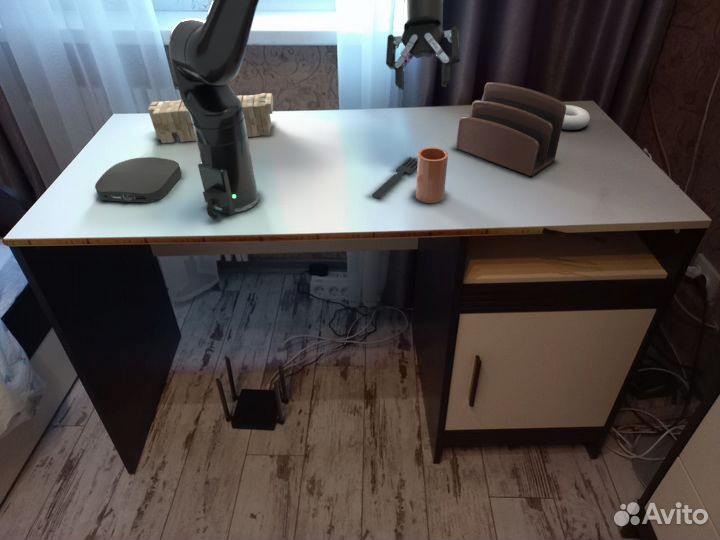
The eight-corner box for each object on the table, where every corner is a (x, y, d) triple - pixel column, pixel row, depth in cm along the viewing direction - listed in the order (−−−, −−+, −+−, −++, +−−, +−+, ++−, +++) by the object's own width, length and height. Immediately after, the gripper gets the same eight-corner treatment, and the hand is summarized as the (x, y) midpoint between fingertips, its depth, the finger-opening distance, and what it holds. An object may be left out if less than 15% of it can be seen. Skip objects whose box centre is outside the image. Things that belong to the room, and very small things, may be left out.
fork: (383, 200, 101) (383, 197, 100) (368, 195, 102) (368, 193, 102) (423, 162, 112) (423, 160, 112) (409, 159, 114) (409, 156, 113)
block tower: (156, 147, 123) (276, 135, 125) (145, 114, 118) (270, 102, 119) (162, 133, 129) (276, 122, 131) (152, 101, 124) (271, 89, 125)
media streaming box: (187, 169, 112) (184, 157, 110) (159, 205, 101) (155, 192, 99) (125, 167, 114) (121, 154, 112) (91, 201, 103) (86, 188, 101)
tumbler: (436, 206, 99) (440, 163, 93) (410, 198, 101) (413, 156, 95) (448, 193, 102) (452, 151, 96) (423, 186, 105) (426, 144, 99)
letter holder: (479, 135, 122) (488, 76, 113) (555, 161, 111) (570, 98, 102) (454, 149, 117) (461, 88, 108) (531, 178, 106) (545, 113, 97)
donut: (596, 126, 125) (565, 112, 132) (600, 113, 123) (568, 99, 130) (567, 136, 121) (537, 121, 128) (571, 122, 119) (540, 107, 126)
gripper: (383, -2, 97) (382, 85, 98) (458, -12, 93) (456, 78, 94) (392, 15, 104) (391, 95, 105) (462, 6, 100) (461, 89, 101)
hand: (422, 87), depth 99 cm, fingers open, 8 cm apart
